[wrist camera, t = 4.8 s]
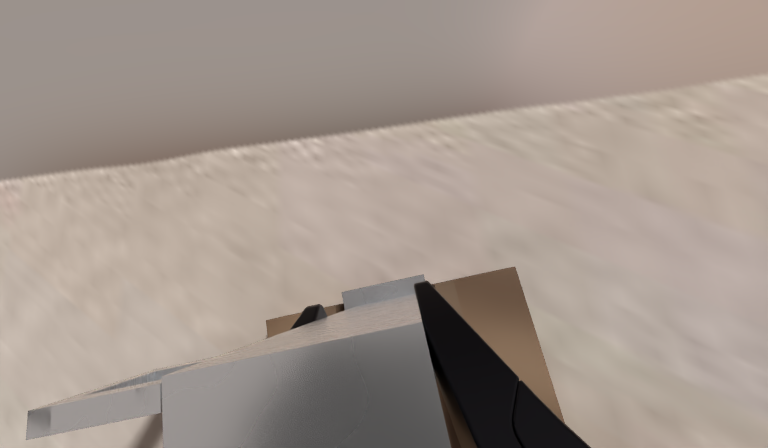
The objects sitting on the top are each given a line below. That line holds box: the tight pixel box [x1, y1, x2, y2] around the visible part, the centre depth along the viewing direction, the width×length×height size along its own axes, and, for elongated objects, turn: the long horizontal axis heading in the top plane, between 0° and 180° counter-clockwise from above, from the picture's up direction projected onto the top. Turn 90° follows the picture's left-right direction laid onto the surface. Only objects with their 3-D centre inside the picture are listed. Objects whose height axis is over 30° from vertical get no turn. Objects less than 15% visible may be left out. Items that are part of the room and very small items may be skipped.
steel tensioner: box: [26, 275, 451, 448], centre depth 8 cm, size 4×13×10 cm, turn 102°
